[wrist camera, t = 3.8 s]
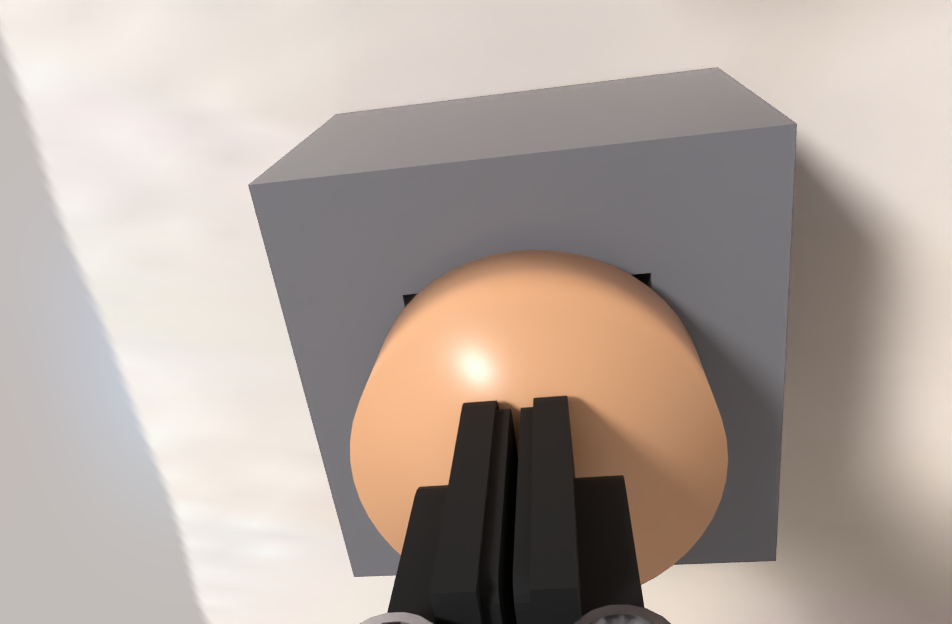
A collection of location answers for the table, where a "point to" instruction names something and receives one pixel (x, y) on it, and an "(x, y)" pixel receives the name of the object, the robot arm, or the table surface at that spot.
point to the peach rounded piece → (547, 391)
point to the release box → (548, 248)
